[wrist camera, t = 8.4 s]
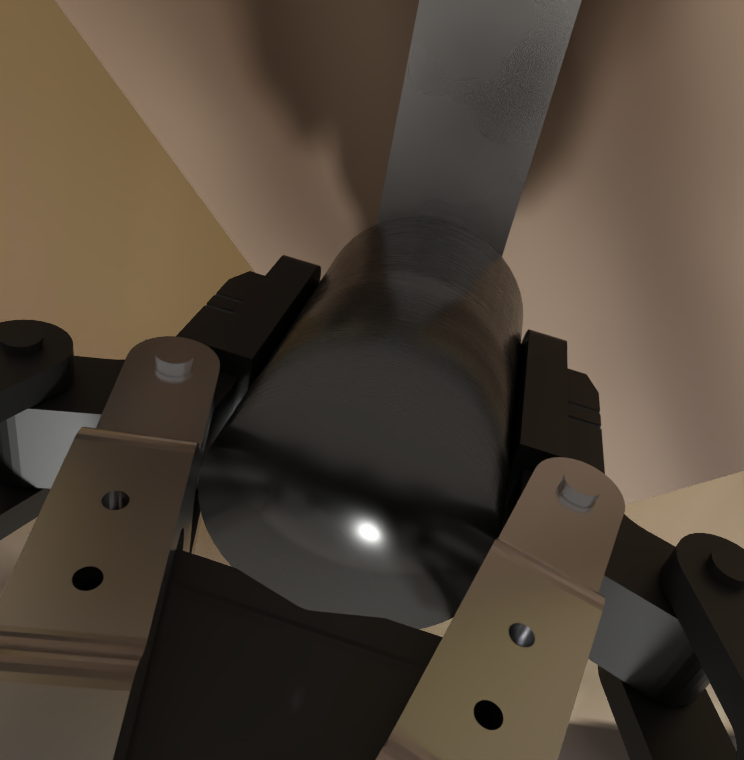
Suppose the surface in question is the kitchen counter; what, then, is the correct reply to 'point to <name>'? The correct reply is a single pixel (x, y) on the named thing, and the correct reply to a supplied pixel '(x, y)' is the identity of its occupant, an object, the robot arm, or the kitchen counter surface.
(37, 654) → the robot arm
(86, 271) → the kitchen counter surface
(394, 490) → the lever
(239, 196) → the press base
